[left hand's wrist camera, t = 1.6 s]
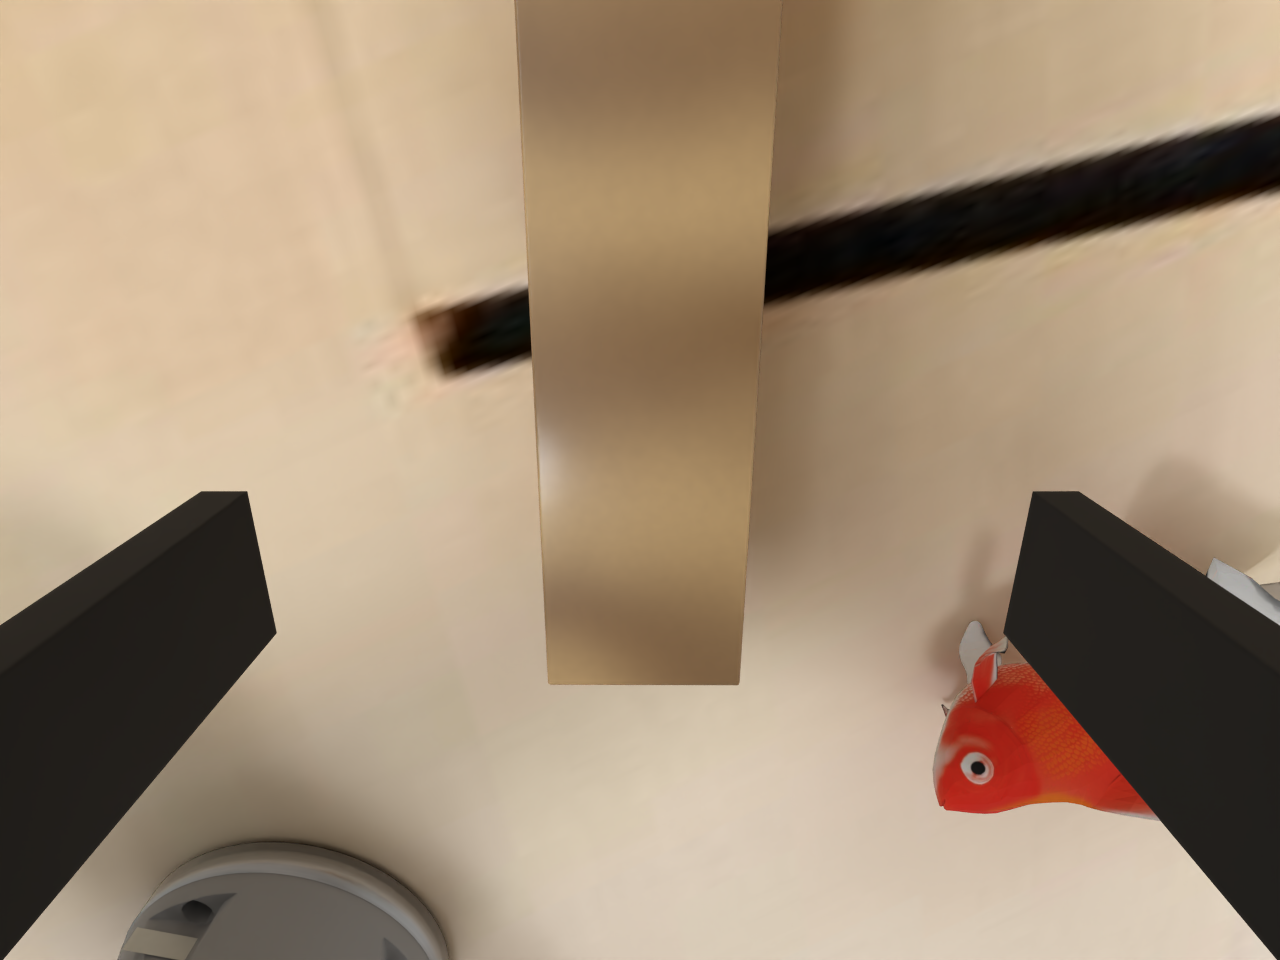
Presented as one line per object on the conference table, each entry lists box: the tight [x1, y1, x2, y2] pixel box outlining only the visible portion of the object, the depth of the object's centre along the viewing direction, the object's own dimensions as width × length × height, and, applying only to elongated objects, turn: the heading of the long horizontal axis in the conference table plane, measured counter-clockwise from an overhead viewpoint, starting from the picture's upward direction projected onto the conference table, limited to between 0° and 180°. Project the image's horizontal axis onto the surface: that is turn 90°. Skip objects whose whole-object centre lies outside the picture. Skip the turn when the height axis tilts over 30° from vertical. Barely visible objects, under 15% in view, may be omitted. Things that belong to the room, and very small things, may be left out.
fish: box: [933, 558, 1280, 821], centre depth 26 cm, size 11×16×10 cm
